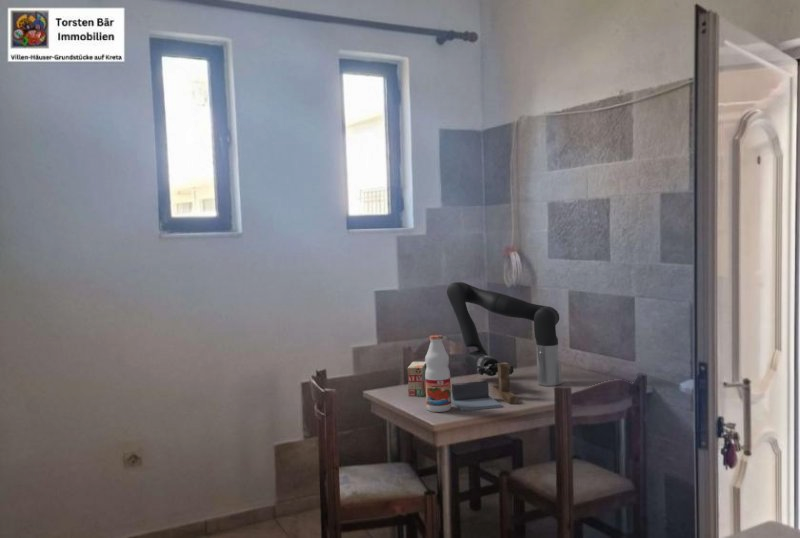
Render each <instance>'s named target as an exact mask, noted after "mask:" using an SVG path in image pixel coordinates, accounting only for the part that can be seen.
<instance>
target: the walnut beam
mask: <svg viewBox="0 0 800 538" xmlns="http://www.w3.org/2000/svg"><path fill="white" fill-rule="evenodd" d="M509 365H510V363H508V362H506V361H505V362H504V361H503V362H499V363H498V373H497V384H498V385H497V384H496V385H492V387H491V390H492V391H491V392H492V393H493V394H494V396H495V395H496V396H497V397H498V398H500V399H501V400H503V401H504V402H506V403H507V404H509V405H516V404H518V396H517V395H516V394H514V393H512V392H511V389H510V387H511V385H510V383H511V382H510V374H509Z"/></svg>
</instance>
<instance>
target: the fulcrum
mask: <svg viewBox="0 0 800 538" xmlns="http://www.w3.org/2000/svg"><path fill="white" fill-rule="evenodd" d="M451 405H453V406H454V407H456V408H457V409H458V410H459V411H460V412H463V411H464V410H465V411H474V410H483V409H485V410H486V409H495V408H502V403H501V402H498V400H496V399H494V398H493V397H491V396H490V394H489V382H488V380H487V381H486V380H482V381H469V382H468V381H467V382H459V383H457V382H456V383H451Z"/></svg>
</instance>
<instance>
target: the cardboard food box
mask: <svg viewBox="0 0 800 538" xmlns="http://www.w3.org/2000/svg"><path fill="white" fill-rule="evenodd" d="M426 368H427V366H426V363H425V361H412V362H411V363H410V365H409V366H408V367H407V382H408V383H407V384H408V388H407V389H408V390H407V391H408V397H424V396H425V395H426V381H425V371H426Z"/></svg>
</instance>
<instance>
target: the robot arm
mask: <svg viewBox="0 0 800 538" xmlns="http://www.w3.org/2000/svg"><path fill="white" fill-rule="evenodd" d="M446 296H447V298H448V300H449V303H450V305H451V306H452V309H453V311H454V314H455V317H456V319H457V322H458V325H459V329H460V331H461V335H462V339H463V343H464V346H465V347H466V348H475V349H476V350H475V351H471V352H467V354H465V357H464V363H465V364H466V366H467V367H468V368H469V369H472V370H477V371H476V372H477V373H478V374H479V375H481V376H483V375H486V376H488V377H494V376H496V375H498V363H500V362H499V361H498V359H497V358H496V359H495V358H494V357H492V356H489V354H488V353H487V351H486V349H485V348H484V346H483V345H482V342H481V340H480V338H479V333H478V329H477V326H476V324H475V322H474V320H473V318H472V316H471V315H470V312H469V311H468V307H467V304H466V303H470V304H474V305H477V306H480V307H482V308H483V309H485V310H487V311H489V312H491V313H493V314H496V315H500V316H503V317H510V318H517V319H525V320H530V321H532V322H533V328H534V332H533V333H534V339H535V345H536V346H535V349H536V375H537V376H536V377H537V378H536V380H537V381H536V382H537V385H538V386H542V387H543V386H545V387H553V386H554V387H555V386H558V385H562V369H561V368H562V364H561V361H559V355H560V354H559V338H558V336H557V333H556V332H557V327H556V326H557V324H558V323H559V322H560V314H559V312H558V310H556V308H554V307H551V306H547V305H543V304H542V305H541V304H535V303H531V302H528V301H525V300H522V299H519V298H516V297H513V296H511V295H508V294H504V293H500V292H495V291H493V290H485V289H481V288H478V287H475V286H472V285H470V284H469V283H466V282H464V281H463V282H462V281H458V282H457V281H456V282H455V281H454V282H452V283H450V284H449V285H448V287H447V288H446ZM513 374H514V366H513V365H512V364H509V376H510V375H513Z"/></svg>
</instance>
